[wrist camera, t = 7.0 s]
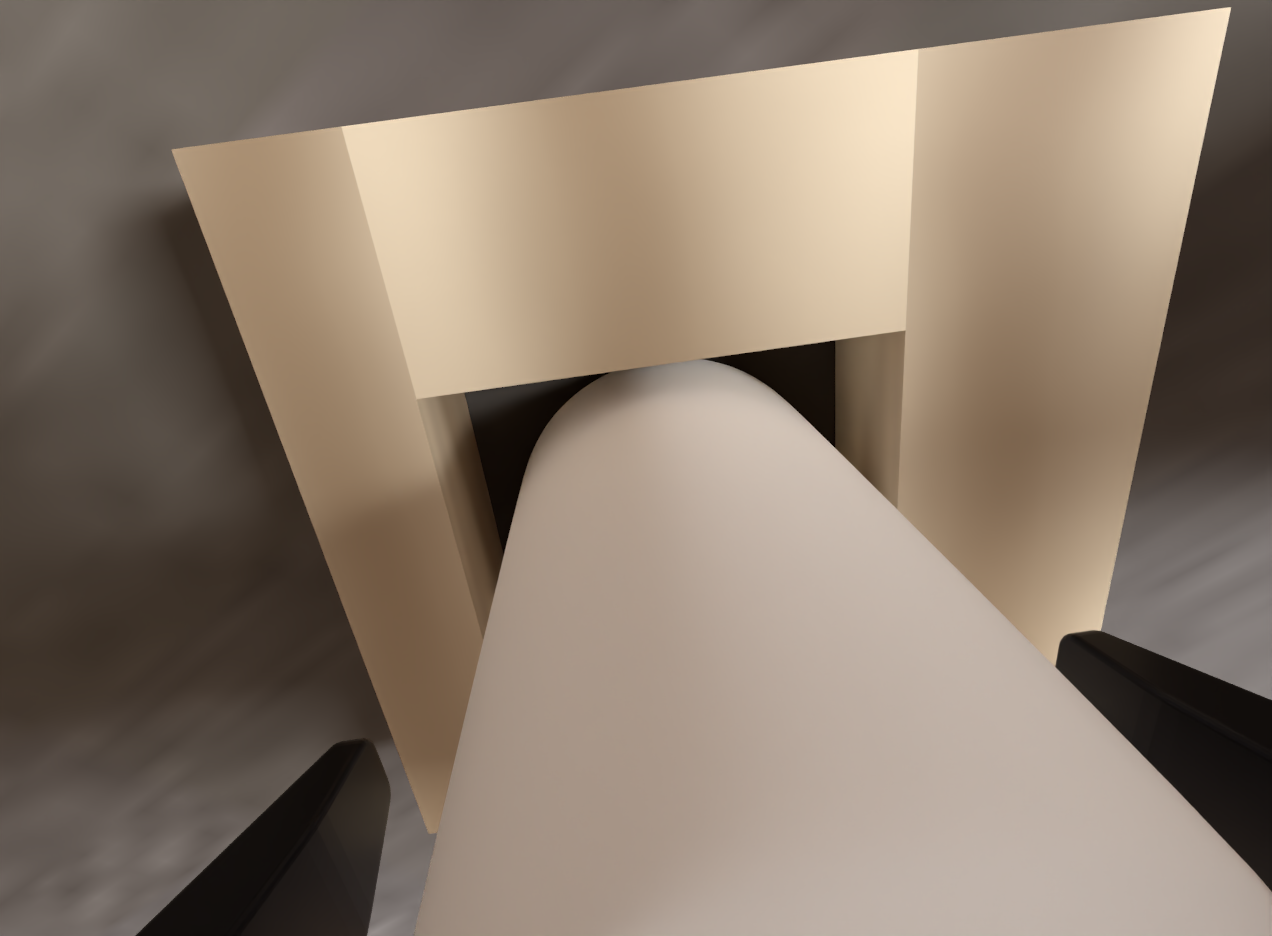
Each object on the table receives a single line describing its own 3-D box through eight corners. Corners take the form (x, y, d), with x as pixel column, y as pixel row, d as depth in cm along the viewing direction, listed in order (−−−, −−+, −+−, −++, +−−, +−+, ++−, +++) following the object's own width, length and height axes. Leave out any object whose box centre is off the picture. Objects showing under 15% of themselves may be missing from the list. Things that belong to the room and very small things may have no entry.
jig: (1070, 55, 11) (1230, 7, 8) (995, 644, 16) (1079, 736, 13) (277, 162, 11) (172, 149, 8) (456, 724, 16) (429, 833, 13)
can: (460, 457, 13) (-193, 1761, 2) (728, 288, 12) (2034, 1082, 1) (624, 659, 16) (712, 1773, 5) (859, 530, 15) (1705, 1553, 4)
